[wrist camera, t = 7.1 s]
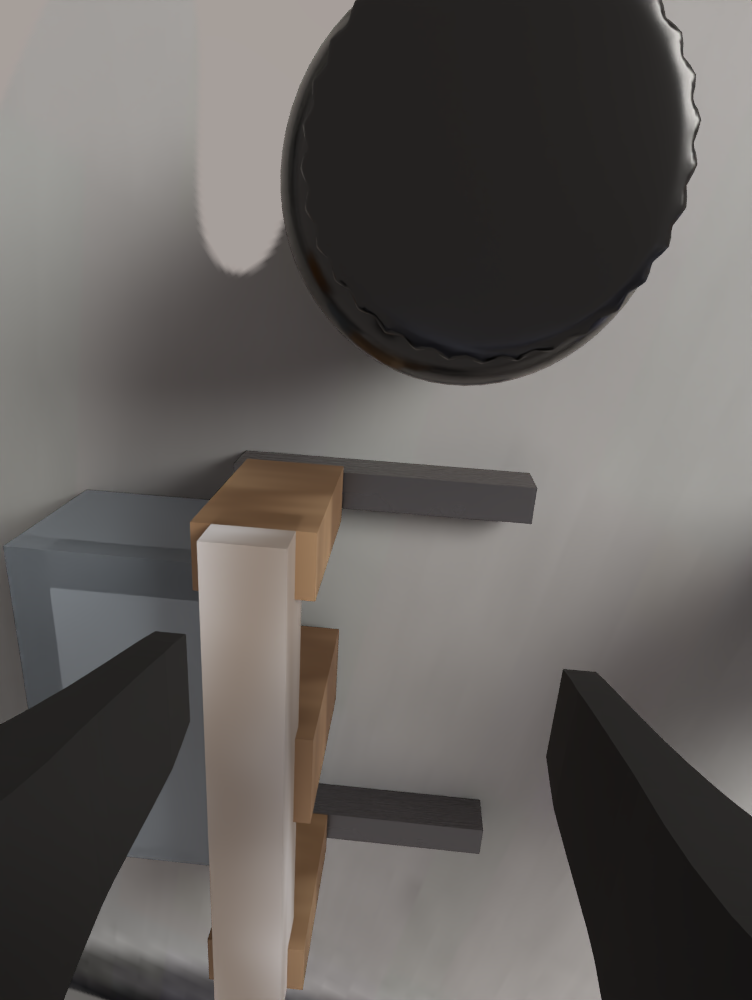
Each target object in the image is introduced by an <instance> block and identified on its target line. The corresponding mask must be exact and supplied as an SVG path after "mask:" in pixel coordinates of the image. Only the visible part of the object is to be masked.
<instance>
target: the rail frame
mask: <svg viewBox="0 0 752 1000" xmlns="http://www.w3.org/2000/svg"><path fill="white" fill-rule="evenodd" d="M246 459H258V460H271V461H283V462H296V463H308V464H321V465H333V466H344V469H343V491H342V508H346V509H358V510H370V511H382V512H394V513H406V514H418V515H430V516H442V517H454V518H466V519H478V520H490V521H502V522H514V523H526V524H532V518H533V511H534V505H535V499H536V492H537V487H536V485H535V483H534V481H533V479H532V477H531V475H530V473H521V472H508V471H495V470H483V469H470V468H458V467H445V466H433V465H420V464H408V463H395V462H383V461H370V460H358V459H345V458H333V457H320V456H308V455H295V454H283V453H270V452H258V451H245V452H244V453H243V454H242V455H241V457H240V458H239V459H238V460H237V461H236V462H235V463H234V473H235V472H236V470H237V469H238V468H239V467H240V466H241V465H242V464H243V463H244V462H245V460H246ZM313 813H314V814H324V815H328V816H327V837H326V838H335V839H344V840H353V841H363V842H372V843H382V844H391V845H400V846H410V847H419V848H429V849H438V850H447V851H457V852H466V853H476V854H479V852H480V846H481V840H482V833H483V827H482V817H481V807H480V800H473V799H463V798H453V797H443V796H434V795H424V794H414V793H404V792H395V791H385V790H375V789H365V788H356V787H346V786H336V785H326V784H318V788H317V793H316V798H315V803H314V808H313Z"/></svg>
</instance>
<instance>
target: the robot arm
mask: <svg viewBox="0 0 752 1000" xmlns="http://www.w3.org/2000/svg"><path fill="white" fill-rule="evenodd" d="M189 723H190V705H189V685H188V664H187V643H186V634H180V633H170V632H159V631H155V632H153V633H151V634H149V635H148V636H146V637H144V638H143V639H141V640H139V641H138V642H136V643H135V644H133V645H132V646H130V647H129V648H127V649H125V650H124V651H122V652H121V653H119V654H118V655H116V656H115V657H113V658H112V659H110V660H109V661H107V662H106V663H104V664H102V665H101V666H99V667H98V668H96V669H95V670H93V671H91V672H90V673H88V674H87V675H85V676H84V677H82V678H80V679H79V680H77V681H76V682H74V683H73V684H71V685H69V686H68V687H66V688H64V689H62V690H61V691H59V692H57V693H56V694H54V695H52V696H50V697H49V698H47V699H45V700H43V701H42V702H40V703H38V704H37V705H35V706H33V707H31V708H30V709H28V710H26V711H25V712H23V713H21V714H19V715H17V716H15V717H14V718H12V719H10V720H8V721H6V722H4V723H2V724H0V1000H64V998H65V995H66V992H67V990H68V988H69V985H70V982H71V980H72V977H73V975H74V972H75V970H76V967H77V965H78V962H79V960H80V957H81V955H82V952H83V950H84V948H85V945H86V943H87V940H88V938H89V936H90V933H91V931H92V928H93V926H94V924H95V921H96V919H97V916H98V914H99V911H100V909H101V907H102V904H103V902H104V900H105V898H106V896H107V894H108V892H109V890H110V888H111V886H112V884H113V881H114V879H115V877H116V876H117V874H118V872H119V870H120V868H121V866H122V864H123V862H124V860H125V859H126V857H127V855H128V853H129V851H130V849H131V847H132V845H133V843H134V842H135V840H136V838H137V836H138V834H139V832H140V830H141V828H142V827H143V825H144V823H145V821H146V819H147V817H148V815H149V813H150V811H151V810H152V808H153V806H154V804H155V802H156V800H157V798H158V796H159V794H160V792H161V790H162V789H163V787H164V785H165V783H166V781H167V779H168V777H169V775H170V773H171V771H172V769H173V766H174V764H175V761H176V759H177V756H178V753H179V751H180V748H181V746H182V743H183V740H184V737H185V734H186V732H187V729H188V726H189ZM546 758H547V765H548V773H549V780H550V787H551V793H552V800H553V806H554V811H555V815H556V819H557V822H558V826H559V830H560V833H561V837H562V841H563V844H564V848H565V852H566V855H567V859H568V862H569V866H570V870H571V873H572V877H573V880H574V884H575V888H576V891H577V895H578V898H579V902H580V905H581V909H582V913H583V916H584V920H585V923H586V927H587V931H588V935H589V939H590V943H591V947H592V952H593V956H594V960H595V965H596V971H597V976H598V982H599V988H600V993H601V999H602V1000H752V816H751V815H749V814H748V813H747V812H745V811H744V810H743V809H741V808H740V807H739V806H738V805H736V804H735V803H734V802H733V801H731V800H730V799H729V798H728V797H726V796H725V795H724V794H723V793H722V792H720V791H719V790H718V789H717V788H716V787H715V786H713V785H712V784H711V783H710V782H709V781H708V780H707V779H705V778H704V777H703V776H702V775H701V774H700V773H699V772H697V771H696V770H695V769H694V768H693V767H692V766H691V765H690V764H688V763H687V762H686V761H685V760H684V759H683V758H682V757H681V756H680V755H679V754H678V753H677V752H675V751H674V750H673V749H672V748H671V747H670V746H669V745H668V744H667V743H666V742H665V741H664V740H663V739H662V738H661V737H660V736H659V735H658V734H657V733H656V732H655V731H654V730H653V729H652V728H651V727H650V726H649V725H648V724H647V723H646V722H645V721H644V720H643V719H642V718H641V717H640V716H639V715H638V714H637V713H636V712H635V711H634V710H633V709H632V708H631V707H630V706H629V705H628V704H627V703H626V702H625V701H624V700H623V699H622V698H621V697H620V696H619V695H618V694H617V692H616V691H615V690H614V689H613V688H612V687H611V686H610V685H609V684H608V683H607V682H606V681H605V680H604V679H603V678H602V677H601V676H600V675H599V674H598V673H596V672H589V671H578V670H567V669H563V673H562V678H561V683H560V688H559V693H558V699H557V704H556V709H555V714H554V719H553V724H552V730H551V735H550V740H549V745H548V750H547V755H546Z"/></svg>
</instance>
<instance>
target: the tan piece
mask: <svg viewBox="0 0 752 1000" xmlns="http://www.w3.org/2000/svg"><path fill="white" fill-rule="evenodd" d="M343 469H344V466H333V465H321V464H308V463H296V462H283V461H271V460H258V459H246V460H245V462H244V463H243V464H242V465H241V466H240V467H239V468H238V469H237V470H236V472H235V473H234V474H233V475H232V476H231V477H230V478H229V479H228V480H227V482H226V483H225V484H224V485H223V486H222V487H221V488H220V489H219V490H218V491H217V493H216V494H215V495H214V496H213V497H212V498H211V499H210V500H209V501H208V503H207V504H206V505H205V506H204V507H203V508H202V509H201V510H200V511H199V513H198V514H197V515H196V516H195V517H194V518H193V519H192V520H191V521H190V538H191V561H192V585H193V590H194V591H199V612H200V638H201V663H202V689H203V715H204V740H205V766H206V791H207V817H208V842H209V868H210V894H211V919H212V928H211V931H210V934H209V937H208V959H209V979H214V996H215V1000H285V995H286V990H287V988H290V989H299V990H303V984H304V978H305V972H306V966H307V960H308V954H309V948H310V942H311V936H312V930H313V924H314V918H315V912H316V906H317V900H318V894H319V888H320V882H321V876H322V870H323V864H324V858H325V852H326V837H327V816H328V815H324V814H314V813H313V808H314V803H315V798H316V793H317V788H318V783H319V779H320V774H321V769H322V764H323V759H324V754H325V749H326V744H327V739H328V734H329V729H330V724H331V720H332V715H333V710H334V705H335V700H336V682H337V661H338V640H339V629H330V628H319V627H308V626H301V600H305V601H315V600H316V597H317V594H318V591H319V588H320V585H321V581H322V578H323V575H324V572H325V569H326V566H327V563H328V560H329V557H330V554H331V550H332V547H333V544H334V541H335V538H336V535H337V532H338V529H339V526H340V522H341V513H342V491H343Z"/></svg>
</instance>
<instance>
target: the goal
mask: <svg viewBox="0 0 752 1000" xmlns="http://www.w3.org/2000/svg"><path fill="white" fill-rule="evenodd" d="M208 501H209V500H203V499H191V498H179V497H167V496H155V495H143V494H131V493H119V492H107V491H95V490H86V491H84V492H83V493H81V494H80V495H78V496H77V497H75V498H74V499H72V500H71V501H69V502H68V503H66V504H65V505H63V506H62V507H60V508H59V509H58V510H56V511H55V512H53V513H52V514H50V515H49V516H47V517H46V518H44V519H43V520H41V521H40V522H38V523H37V524H35V525H34V526H32V527H31V528H29V529H28V530H26V531H25V532H23V533H22V534H20V535H19V536H17V537H16V538H14V539H13V540H12V541H10V542H9V543H7V544H6V545H4V546H3V548H4V555H5V561H6V568H7V574H8V581H9V587H10V594H11V600H12V607H13V613H14V620H15V626H16V633H17V639H18V645H19V652H20V658H21V665H22V671H23V678H24V684H25V691H26V697H27V704H28V709H30V708H31V707H33V706H35V705H37V704H38V703H40V702H42V701H43V700H45V699H47V698H49V697H50V696H52V695H54V694H56V693H57V692H59V691H61V690H62V689H64V688H66V687H68V686H69V685H71V684H73V683H74V682H76V681H77V680H79V679H80V678H82V677H84V676H85V675H87V674H88V673H90V672H91V671H93V670H95V669H96V668H98V667H99V666H101V665H102V664H104V663H106V662H107V661H109V660H110V659H112V658H113V657H115V656H116V655H118V654H119V653H121V652H122V651H124V650H125V649H127V648H129V647H130V646H132V645H133V644H135V643H136V642H138V641H139V640H141V639H143V638H144V637H146V636H148V635H149V634H151V633H153V632H155V631H159V632H170V633H180V634H186V643H187V664H188V685H189V705H190V723H189V726H188V729H187V732H186V734H185V737H184V740H183V743H182V746H181V748H180V751H179V753H178V756H177V759H176V761H175V764H174V766H173V769H172V771H171V773H170V775H169V777H168V779H167V781H166V783H165V785H164V787H163V789H162V790H161V792H160V794H159V796H158V798H157V800H156V802H155V804H154V806H153V808H152V810H151V811H150V813H149V815H148V817H147V819H146V821H145V823H144V825H143V827H142V828H141V830H140V832H139V834H138V836H137V838H136V840H135V842H134V843H133V845H132V847H131V849H130V851H129V853H128V855H127V857H135V858H145V859H154V860H163V861H172V862H181V863H190V864H199V865H209V842H208V817H207V791H206V766H205V740H204V715H203V689H202V663H201V638H200V612H199V591H194V590H193V585H192V561H191V538H190V521H191V520H192V519H193V518H194V517H195V516H196V515H197V514H198V513H199V511H200V510H201V509H202V508H203V507H204V506H205V505H206V504H207V503H208Z"/></svg>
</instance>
